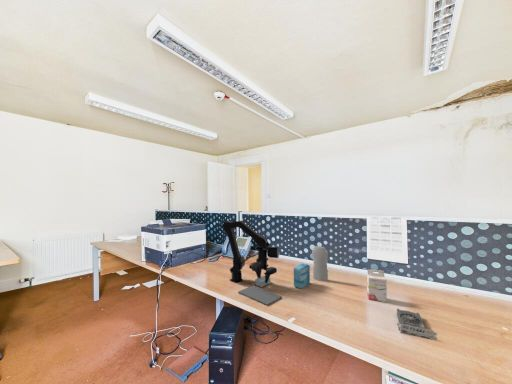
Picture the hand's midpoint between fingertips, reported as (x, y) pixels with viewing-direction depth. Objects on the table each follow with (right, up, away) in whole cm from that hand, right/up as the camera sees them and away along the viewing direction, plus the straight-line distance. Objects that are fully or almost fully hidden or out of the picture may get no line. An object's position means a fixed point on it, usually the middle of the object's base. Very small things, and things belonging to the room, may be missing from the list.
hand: (262, 281), depth 139 cm
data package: (+24, -1, -4) cm, 24 cm away
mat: (-2, -1, -17) cm, 17 cm away
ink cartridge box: (+60, 0, -22) cm, 64 cm away
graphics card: (+62, 0, -47) cm, 78 cm away
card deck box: (0, -1, 0) cm, 1 cm away
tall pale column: (+38, -1, +5) cm, 38 cm away
